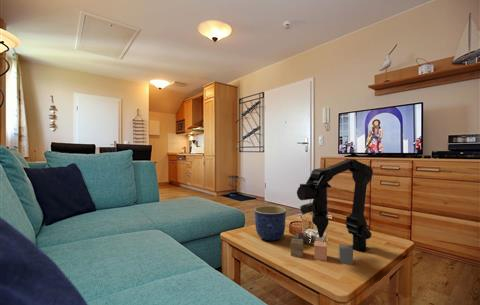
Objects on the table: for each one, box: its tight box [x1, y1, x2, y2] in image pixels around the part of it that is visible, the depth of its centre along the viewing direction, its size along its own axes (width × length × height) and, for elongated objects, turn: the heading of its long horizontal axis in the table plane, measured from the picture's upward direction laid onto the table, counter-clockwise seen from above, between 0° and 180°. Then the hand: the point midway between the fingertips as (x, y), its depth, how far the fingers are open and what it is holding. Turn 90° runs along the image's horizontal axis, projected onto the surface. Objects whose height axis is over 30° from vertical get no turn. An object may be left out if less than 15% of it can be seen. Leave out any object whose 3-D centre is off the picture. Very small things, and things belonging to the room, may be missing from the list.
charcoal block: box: [338, 243, 354, 265], centre depth 96 cm, size 5×5×6 cm
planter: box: [254, 205, 287, 241], centre depth 123 cm, size 17×17×15 cm
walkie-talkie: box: [293, 230, 311, 244], centre depth 118 cm, size 9×4×20 cm
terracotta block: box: [313, 240, 328, 262], centre depth 100 cm, size 5×5×6 cm
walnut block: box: [290, 237, 304, 258], centre depth 103 cm, size 5×5×6 cm
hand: (320, 233), depth 100 cm, fingers open, 9 cm apart
